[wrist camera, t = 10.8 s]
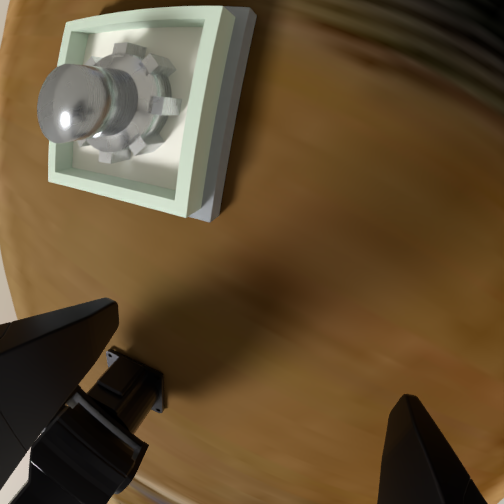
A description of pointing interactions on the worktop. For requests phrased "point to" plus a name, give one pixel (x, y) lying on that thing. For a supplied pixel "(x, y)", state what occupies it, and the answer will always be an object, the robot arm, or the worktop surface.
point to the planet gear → (110, 103)
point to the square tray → (177, 126)
